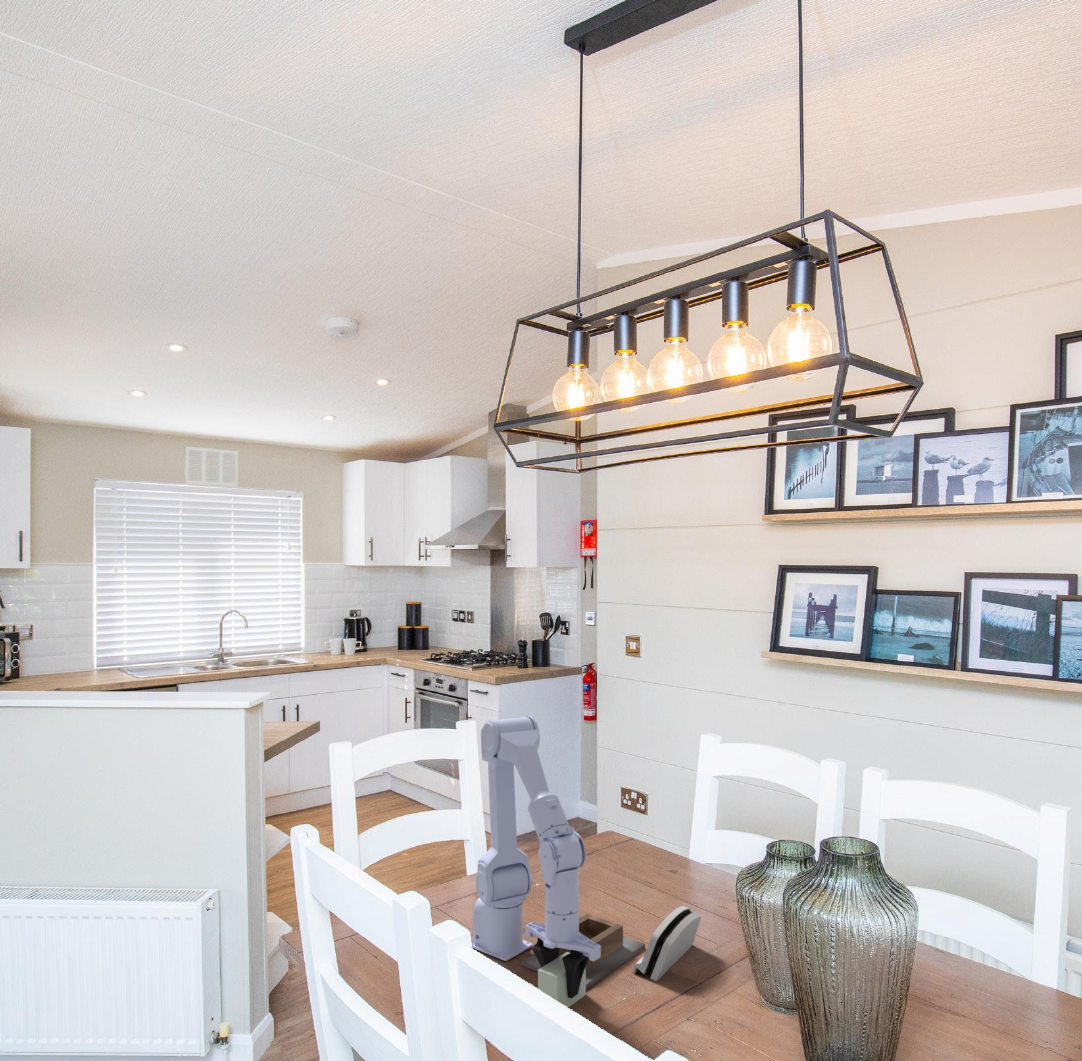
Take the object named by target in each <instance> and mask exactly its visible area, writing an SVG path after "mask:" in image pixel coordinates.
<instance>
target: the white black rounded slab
mask: <svg viewBox="0 0 1082 1061" xmlns="http://www.w3.org/2000/svg"><path fill="white" fill-rule="evenodd" d="M701 918H702V917H701V916H700V914H699V913H697V912H695V911H694V912H693V911H691V909H690V908H689V907H687V906H684V905H682V906H678V907H677V908H676V909H673V911H671V912H670V913H669V914H668V915H667V916H666V917H665V918H664V919H663V921H662V922H661V923H659V925H658V927H657V928H656V929H655V931H654V932H652V935H651V936H650V939H649V943H648V945H647V947H646V950H645V953H644V955H643V957H641V958H640V959H639V960H638V961H637V962H635V963H634V965H633V968H632V970H631V974H632V975H633V974H634V975H635V974H636V972H638V971H640V972H641V973H642V974H643V975H645V974H648V973H649V976H650V980H652V981H654V982H657V981H659V980H660V979H661V978H662V977H663V975H665V974H666V973H667V972H668V970H669V969H670V968H672V966H674V964H676V963H677V962H678V961H679V960H680V959H681V957H683V955H685V953H686V952H688V951H689V949H691V948H692V947H693V945H694V941H695V938H696V936H697V935H696V934H697V933H698V932H697V931H698V929H699V926H700V922H701V920H702V919H701Z"/></svg>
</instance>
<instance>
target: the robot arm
mask: <svg viewBox="0 0 1082 1061" xmlns="http://www.w3.org/2000/svg"><path fill="white" fill-rule="evenodd" d="M540 741H541V734H540V728H539V725H538V722H537V721H536V719H535V718H534V717H533V716H531V715H526V716H522V717H521V716H520V717H512V718H510V717H509V718H504V719H503V718H502V719H488V720H486V721H485V722H484V725H483V726H482V728H481V730H480V745H481V746H480V748H481V749H480V750H481V760H482V761H484V762H487V769H488V771H487V772H488V776H487V777H488V796H489V797H488V798H489V800H488V802H489V824H490V825H489V826H490V828H489V829H490V848H489V849H488V850H487V851H486V852H485V853H484V854H483V855H482V856H480V857H479V859H478V861H477V871H476V877H475V888H476V893H477V897H478V898H477V900H476V901H475V904H474V906H473V911H472V943H473V948H472V949H474V950H477V951H479V952H482V953H485V954H486V955H489V956H492V957H495V958H497V959H499V960H502V961H504V962H507V961H510V960H511V959H512V958H514V957H517V956H519V955H520V954H522V953H524V952H525V951H526V950H528V949H530V948H531V947H532V952H533V954H535V955H536V957H537V959H538V961H539V964H540V966H541V968H542V967H543V966H545V965H547V964H548V963H550V962H551V961H553V960H555V959H556V958H558V956H559V950H560V948H563V949H568V950H570V954H567V955H566V956H564V957H563V958H562V961H563V963H564V967H565V971H566V977H567V994H568V997H569V998H573V997H575V996H576V995H577V994H578V992H579V987H580V983H581V979H582V976H583V973H584V970H585V968H586V965H587V963H588V961H589V960H591V961H595V960H597V959H599V958H600V957H601V945H599V944H596V943H594V942H593V941H591V940H590V939H588V938H587V937H585V936H584V935H582V934H581V933H579V918H580V909H579V908H580V901H579V900H580V887H579V885H580V881H579V880H580V879H579V878H580V873H579V872H580V870H579V868H582V867H583V866H584V865H585V863H586V858H587V856H586V855H587V854H586V848H585V844H584V840H583V838H582V836H581V834H580V833H578V832H577V831H576V830H575V827H573V826H570V825H569V821H568V819H567V816H566V814H565V811H564V809H563V807H562V804H561V801H560V799H559V796H558V795H557V794H554V793H552V792H550V789H549V786H548V783H547V779H546V776H545V773H544V769H543V766H542V762H541V759H540V754H539V751H538V750H539V748H540V743H541V742H540ZM514 767H515V768H516V771H517V772H518V775H519V777H520V779H521V781H522V784H523V785H524V786H523V787H525V790H526V792H527V794H528V796H529V798H530V801H529V804H528V807H527V811H528V812H529V816H530V819H531V822H532V825H533V826H534V830H535V833H536V835H537V838H538V841H539V844H540V845H539V849H538V850H537V854H538V860H539V864H540V868H541V877H542V880H543V882H544V914H545V915H544V923H540V922H536V921H534V920H533V921H531V922H529V923H527V924H525V932H524V902H525V901H527V896H528V895H529V894H530V893H531V891H532V888H533V882H534V881H533V872H532V869H531V867H530V858H529V856H528V855H527V854H526V853H525V852H524V851H523V850H521V849H520V848H518V841H517V840H518V839H517V838H518V836H517V815H516V814H517V813H516V812H517V810H516V793H515V792H516V790H515V788H516V786H515V768H514ZM524 933H525V934H524ZM524 935H525V937H526V938H529V939H530V938H536V939H537V941H536V943H535V944H533V943H532V942H530V941H527V940H524ZM474 944H475V945H474Z"/></svg>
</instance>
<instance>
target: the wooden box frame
mask: <svg viewBox="0 0 1082 1061" xmlns="http://www.w3.org/2000/svg"><path fill="white" fill-rule="evenodd" d="M579 933H581V934H582V935H584V936H585V937H587V938H588V939H590V940H591V941H593V942H594V943H596V944H599V945H601V957H600V958H599V959H597V960H595V961H591V960H589V961H588V963H587V965H586V990H587V989H589V988H590V987H591V986H593V985H594V984H596V983H598V982H599V981H600V980H602V979H603V978H605V977H606V976H608V975H609V974H610V973H611V972H613V971H614V970H616V969H617V968H619V967H621V965H623V964H624V963H625V962H628V961H629V960H630V959H631V958H633V957H634V956H636V955H637V954H639V953H641V951H643V950H645V949H646V943H644V942H641V941H639V940H636V939H632V938H630V937H627V936H624V925H621V924H620V923H616V922H613V921H610V920H608V919H607V920H606V919H604V918H601V917H598V916H594V915H591V914H588V913H586V914H585V913H584V914H583V915H582V916H579ZM566 952H568V953H570V950H568V949H563V948H560V950H559V956H561V955H563V954H564V953H566ZM559 956H558V957H559ZM521 966H523V967H525V968H527V969H530V970H532V971H534V972H537V973H538V969H540V968H541V966H540V964H539V961H538V959H537V957H536V955H535V954H534V953H533V954H532V955H530V956H528V957H527V958H525V959H523V960H521Z"/></svg>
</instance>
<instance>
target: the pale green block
mask: <svg viewBox="0 0 1082 1061" xmlns="http://www.w3.org/2000/svg"><path fill="white" fill-rule="evenodd" d="M567 954H570V953H568V952H566V953H564V954H563V955H561V956H559V957H558V958H556V959H555V960H553V961H551V962H550V963H548V964H547V965H545V966H543V967H542V968H540V969H538V972H537V989H538V988H539V989H541V990H542V991H543V992H545V993H546V994H548V995H550V996H552V998H554V999H556V1000H558V1001H559V1002H561V1003H562V1004H564V1005H566V1006H568V1008H570V1007H571V1006H573V1005H574V1004H575V1003H577V1002H578V1001H580V999H583V998H584V997H585V996H586V995H587V993H586V992H587V989H586V968H585V970H584V973H583V976H582V979H581V983H580V987H579V992H578V994H577V995H576V996H575V997H573V998H569V997H568V994H567V977H566V971H565V967H564V963H563V961H562V958H563V957H564V956H566V955H567Z"/></svg>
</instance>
